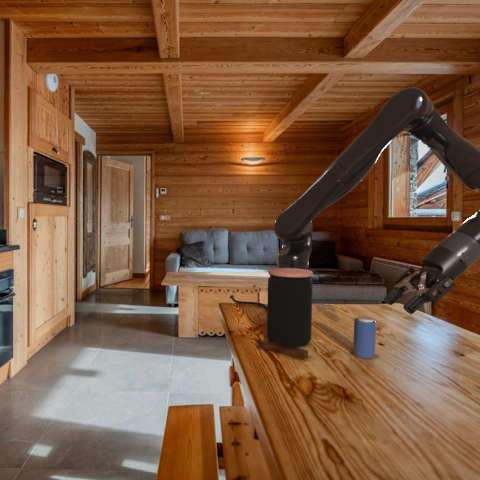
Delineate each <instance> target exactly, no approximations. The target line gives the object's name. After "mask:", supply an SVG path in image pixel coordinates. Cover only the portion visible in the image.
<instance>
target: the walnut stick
mask: <svg viewBox="0 0 480 480" xmlns="http://www.w3.org/2000/svg"><path fill="white" fill-rule="evenodd" d="M258 348H260V349H263V350H266V351H270V352H274V353H277V354H282V355H285V356H289V357H292V358H297V359H299V360H305V359H307V358H308V357H309V350H308V349H304V348H301V347H292V346H288V345H284V344H280V343H276V342H272V341H270V340H269V339H262V340H260V341H259V342H258Z"/></svg>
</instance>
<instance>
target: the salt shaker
mask: <svg viewBox="0 0 480 480" xmlns="http://www.w3.org/2000/svg"><path fill="white" fill-rule="evenodd" d="M376 332H377V321H376V320H375V319H374V318H373V317H369V316H363V315H360V316H357V317H356V318H354V319H353V343H352V345H353V347H352V354H353V355H354V356H355V357H359V358H362V359H374V358H375V357H376V339H377V338H376V337H377V335H376V334H377V333H376Z"/></svg>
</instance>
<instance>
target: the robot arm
mask: <svg viewBox="0 0 480 480" xmlns="http://www.w3.org/2000/svg"><path fill="white" fill-rule="evenodd" d="M403 131H404V132H405V133H407V134H409V135H410V136H412V137H413V138H415V139H417V140H418V141H419V142H421V143H422V144H423V145H424V146H425V147H427V149H429V150H430V151H431V152H432V153H433V154H434V156H435V157H436V158H437V159H438V160H439V161H440V163H441V164H442V165H443V166H444V168H446V169H447V170H448V171H449V173H450V174H451V175H453V176H454V178H455V179H457V180H458V181H459V182H460V183H461V184H462V185H463V186H464V187H465V188H466V189H467V190H469V191H471V192H478V191H480V149H479V147H477V146H476V145H475V144H473V143H471V142H470V141H469V140H467V139H466V138H465V137H463V136H462V135H461V134H459V133H458V132H457V131H455V130H454V129H453V128H452V127H451V126H450V124H448V123H447V122H446V120H444V118H443V117H442V116H441V115H440V113H439V112H438V111H437V109H436V108H435V106H434V103H433V101H432V100H431V98H430V97H429V95H427V93H426V92H425V91H424V90H422V89H421V88H418V87H415V86H414V87H413V86H412V87H411V86H410V87H405V88H403V89H400V90H399V91H397V92H395V93H394V94H393V95H392V96H390V98H389V99H388V100H387V101H386V102H385V103H384V105H383V106H381V109H380V110H379V112H378V113H376V115H375V116H374V117H373V119H372V120H371V121H370V123H368V124H367V126H366V127H365V128H364V129H363V131H361V132H360V134H359V135H357V136H356V137H355V138H354V139H353V140H352V142H351V143H349V145H348V146H347V147H346V148H345V149H344V150H343V151H342V152H341V153H340V154H339V155H338V156H337V157H335V158H334V160H333V161H332V162H330V164H329V165H328V166H327V167H326V168H325V169H324V170H323V171H322V173H321V174H320V175H319V176H318V177H317V178H316V179H315V180H314V181H313V182H312V184H311V185H309V187H308V188H307V189H306V190H305V191H304V192H303V193H302V195H301V196H299V197H298V198H297V199H296V200H295V201H294V202H293V203H292V204H290V205H289V206H288V207H286V208H285V209H284V210H283V211H282V212H280V214H279V215H277V217H276V219H275V221H274V223H273V231H274V235H275V236H276V237H277V238H278V239H280V241H281V240H282V247H281V249H280V250H279V252H278V253H277V259H276V260H277V261H276V262H277V263H276V264H277V266H276V268H297V269H305V270H309V264H310V263H309V262H310V256H311V253H312V245H313V222H312V221H313V220H314V219H315V218H316V217H317V216H318V215H319V214H320V213H322V211H324V210H325V209H327V208H328V207H330V206H331V205H333V204H335V203H336V202H338V201H340V200H341V199H342V198H344V197H346V196H347V195H348V194H349V193H350V192H352V191H353V189H355V188H356V187H357V186H358V185H359V184H360V183H361V182H362V181H363V180H364V179H365V178H366V177H367V175H368V174H369V173H370V172H371V171H372V169H373V167H374V165H375V164H376V163H377V160H378V159H379V157H380V156H381V154H382V152H383V151H384V149H386V148H387V146H388V145H389V144H390V143H391V142H392V141H393V140H394V139H396V137H397V136H399V135H400V134H401V133H402V132H403ZM479 259H480V209H479V210H478V211H477V212H475V214H474V215H472V216H471V217H469V218H467V219H466V220H465V221H464V222H463V223H461V224H460V225H459V226H458V227H457V228H456V229H454V231H453V232H451V233H450V234H448V235H447V236H446V237H444V238H443V239H442V240H441V241H439V242H438V243H437V244H435V246H434V247H433V248H432V249H430V251H428V252H427V253H426V254H425V255H424V256H423V257H421V261H420V262H421V264H422V266H421V267H420V268H419V269H417V270H415V268H414V267H412V266H411V267H409V268H407V269H406V270H405V271H404V272H402V274H400V275H399V276H398V277H397V278H396V279H395V280H393V282H392V283H391V285H392V286H393V289H392V290H391V291H389V292H388V293H387V294H386V295H385V296H384V297H383V298H382V299H383V301H384V302H385V303H386V304H387V305H388V306H392V305H394V304H395V303H396V302H397V301H398V300H399V299H400V298H401V297H402V296H403V295H405V294H407V293H409V292H411V293H414V292H417V294H415V295H414V296H413V297H412V298H410V299H409V300H408V301H407V302H406V303H405V304H403V307H402V308H403V310H404V311H405V312H406V313H408V314H409V315H413V314H414V313H416V312H417V311H418V310H419V309H420V308H422V306H423V305H425V304H429V303H432V304H436V303H439V301H440V300H441V299H443V297H445V296H446V295H447V294H448V293H449V292H450V291H451V290H452V289H453V288H454V287H455V286H456V282H454V281H456V280H457V279H458V278H459V277H461V275H463V274H464V273H465V272H466V271H467V270H469V268H471V267H472V266H473V265H474V264H475V263H476V262H477V261H478V260H479ZM229 299H230V300H232V301H233V302H234V303H235V304H241V305H255V306H261V307H263V308H264V309H266V310H267V309H268V303H267V305H266V304H264V303H262V302H258V301H257V302H256V301H243V300H237V299H236V298H235V296H234V294H231V295H230V296H229Z"/></svg>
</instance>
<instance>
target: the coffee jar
mask: <svg viewBox="0 0 480 480" xmlns="http://www.w3.org/2000/svg"><path fill="white" fill-rule="evenodd" d="M267 272H268V275H269V277H268V279H267V304H268V306H267V307H268V309H266V311H267V313H266V315H267V317H266V319H267V320H266V337H267V338H268V341H272V342H276V343H280V344H284V345H288V346H292V347H296V348H302V347H303V348H304V347H306V346H308V345H309V343H310V342H311V340H312V323H313V322H312V321H313V288H314V287H313V281H312V279H311V278H312V277H313V275H314V271H312V270H311V269H308V270H305V269H297V268H277V267H273V268H269V269H268V270H267Z"/></svg>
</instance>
